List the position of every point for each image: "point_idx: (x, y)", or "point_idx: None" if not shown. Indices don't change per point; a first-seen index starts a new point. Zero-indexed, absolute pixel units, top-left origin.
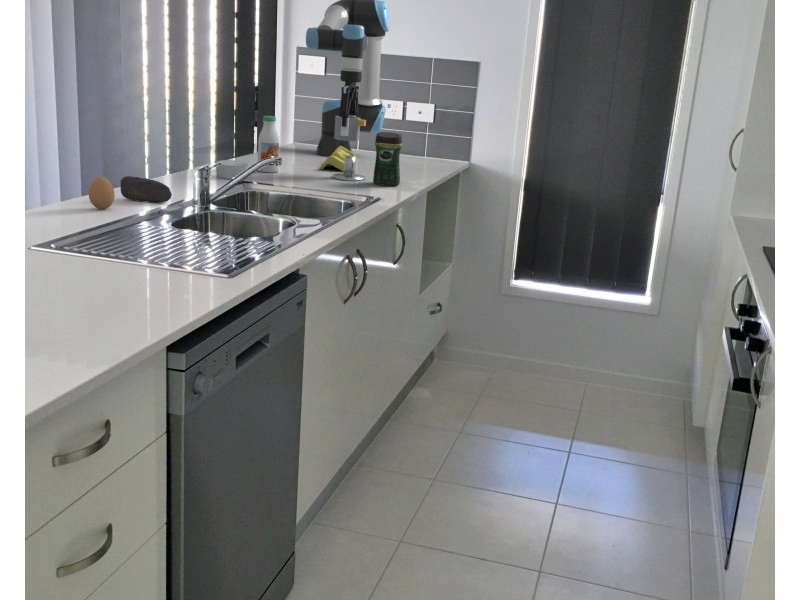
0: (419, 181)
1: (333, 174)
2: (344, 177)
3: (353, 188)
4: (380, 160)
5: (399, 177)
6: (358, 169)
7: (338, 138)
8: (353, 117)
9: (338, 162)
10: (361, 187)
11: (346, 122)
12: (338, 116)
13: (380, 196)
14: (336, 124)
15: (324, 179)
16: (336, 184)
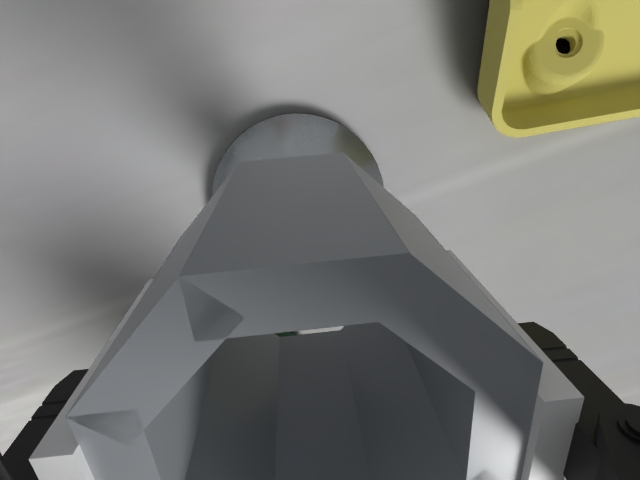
0: None
1: (283, 117)
2: None
3: (63, 311)
4: None
5: None
6: (606, 137)
7: (182, 236)
8: (461, 471)
9: (493, 68)
10: (117, 326)
11: None
12: (211, 332)
13: (7, 434)
14: (184, 250)
15: (164, 109)
16: (85, 217)
